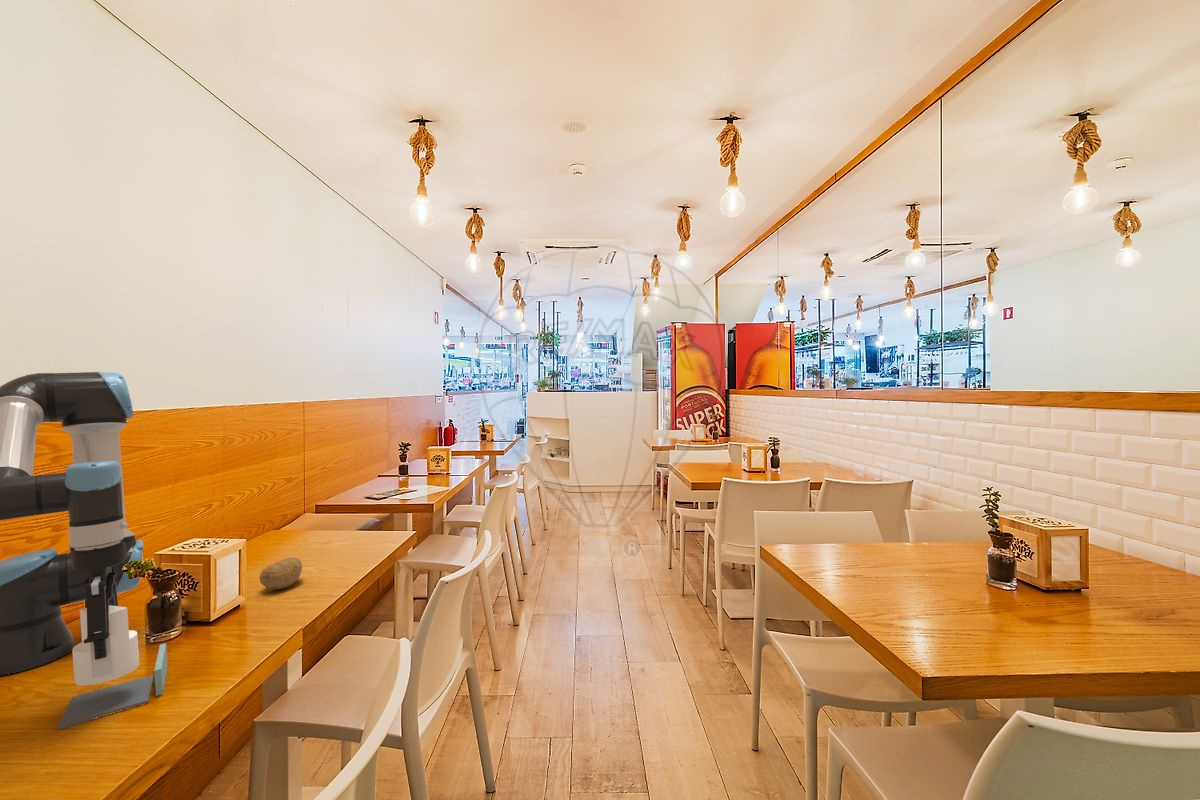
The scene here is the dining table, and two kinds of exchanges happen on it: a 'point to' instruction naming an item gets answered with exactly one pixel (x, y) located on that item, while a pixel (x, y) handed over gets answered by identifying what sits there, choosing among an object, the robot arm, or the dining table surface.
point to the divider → (161, 669)
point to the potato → (281, 573)
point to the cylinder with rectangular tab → (122, 649)
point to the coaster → (106, 701)
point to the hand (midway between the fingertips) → (107, 664)
